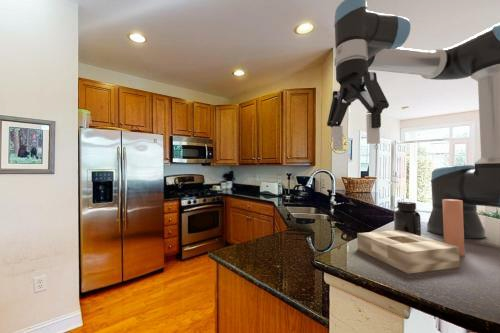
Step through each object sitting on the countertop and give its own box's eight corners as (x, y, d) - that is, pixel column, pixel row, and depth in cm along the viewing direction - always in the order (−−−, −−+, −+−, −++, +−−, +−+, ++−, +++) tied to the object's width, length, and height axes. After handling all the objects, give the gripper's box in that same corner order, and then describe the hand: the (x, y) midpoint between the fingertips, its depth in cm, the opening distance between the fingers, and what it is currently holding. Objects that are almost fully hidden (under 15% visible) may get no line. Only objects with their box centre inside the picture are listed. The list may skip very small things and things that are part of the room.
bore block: (399, 245, 67) (399, 230, 67) (459, 267, 52) (459, 247, 52) (357, 249, 64) (357, 233, 64) (408, 273, 49) (407, 252, 49)
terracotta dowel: (452, 250, 63) (450, 199, 63) (468, 255, 59) (466, 200, 59) (440, 251, 62) (438, 199, 62) (456, 257, 58) (454, 201, 58)
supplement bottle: (426, 245, 67) (424, 204, 68) (400, 243, 69) (399, 203, 69) (414, 238, 74) (413, 201, 75) (391, 237, 76) (390, 201, 76)
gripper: (314, 82, 70) (315, 151, 69) (375, 33, 46) (378, 139, 45) (336, 83, 72) (338, 151, 71) (406, 37, 47) (410, 140, 47)
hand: (353, 147), depth 58 cm, fingers open, 13 cm apart
